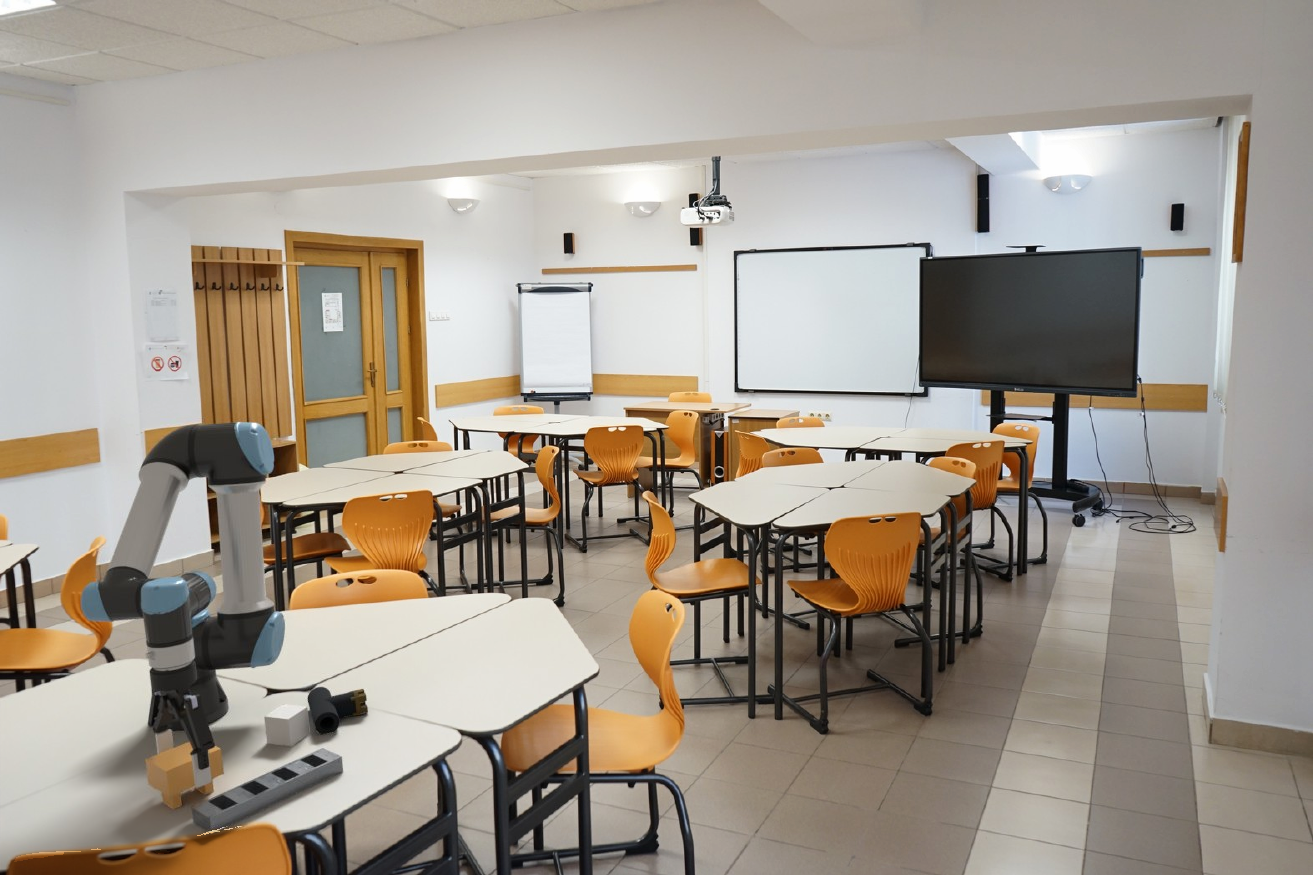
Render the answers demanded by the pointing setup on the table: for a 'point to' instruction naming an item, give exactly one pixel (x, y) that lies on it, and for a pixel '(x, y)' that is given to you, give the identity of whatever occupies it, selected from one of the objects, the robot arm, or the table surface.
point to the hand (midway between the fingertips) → (184, 774)
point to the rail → (266, 790)
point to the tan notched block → (179, 772)
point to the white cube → (287, 725)
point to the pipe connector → (334, 707)
